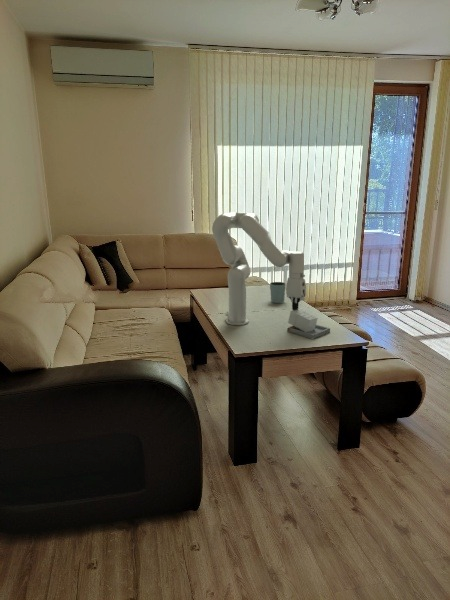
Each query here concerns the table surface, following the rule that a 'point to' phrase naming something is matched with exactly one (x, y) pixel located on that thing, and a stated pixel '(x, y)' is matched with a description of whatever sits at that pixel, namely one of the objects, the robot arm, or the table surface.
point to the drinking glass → (277, 292)
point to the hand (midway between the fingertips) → (295, 309)
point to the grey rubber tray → (312, 332)
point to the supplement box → (302, 320)
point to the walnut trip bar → (290, 328)
